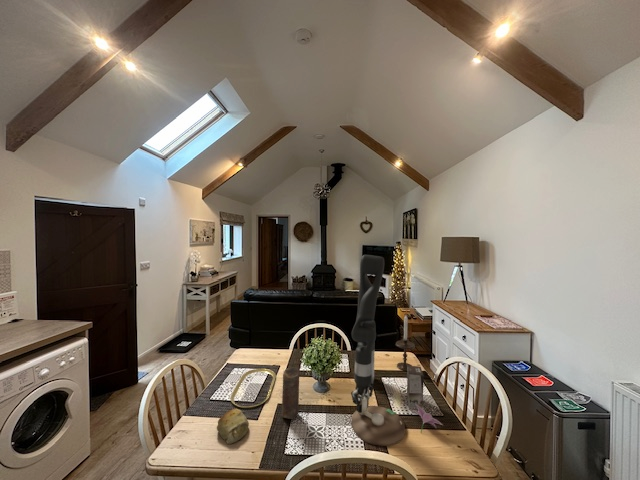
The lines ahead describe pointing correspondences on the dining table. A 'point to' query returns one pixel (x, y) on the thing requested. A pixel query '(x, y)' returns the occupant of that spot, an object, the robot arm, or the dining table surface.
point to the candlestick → (404, 346)
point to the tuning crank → (376, 417)
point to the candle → (290, 393)
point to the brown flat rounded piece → (379, 427)
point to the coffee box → (415, 386)
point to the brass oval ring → (243, 379)
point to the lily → (426, 417)
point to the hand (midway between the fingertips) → (362, 409)
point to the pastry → (232, 426)
